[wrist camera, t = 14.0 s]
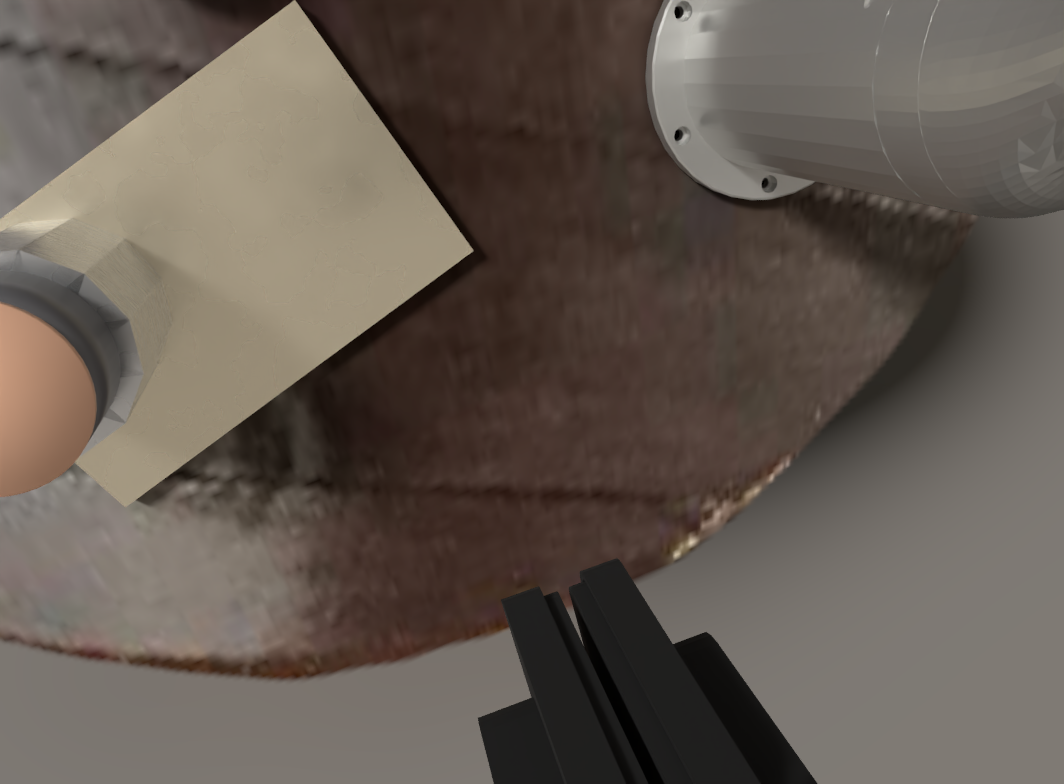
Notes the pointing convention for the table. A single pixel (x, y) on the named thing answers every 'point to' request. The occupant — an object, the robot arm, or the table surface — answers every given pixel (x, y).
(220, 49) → the table surface
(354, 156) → the cylinder on base plate
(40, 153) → the table surface
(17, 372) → the peach ball on collar
